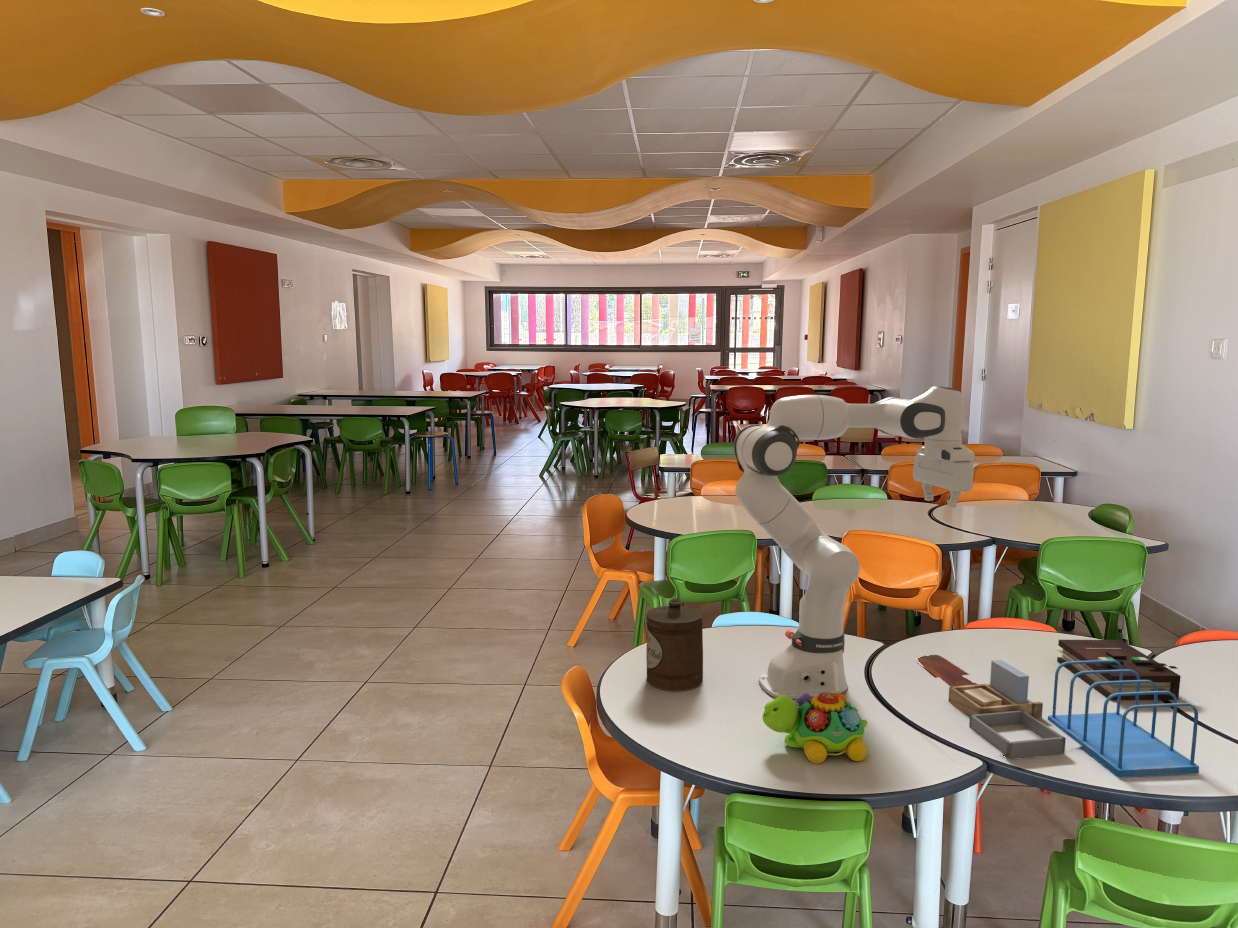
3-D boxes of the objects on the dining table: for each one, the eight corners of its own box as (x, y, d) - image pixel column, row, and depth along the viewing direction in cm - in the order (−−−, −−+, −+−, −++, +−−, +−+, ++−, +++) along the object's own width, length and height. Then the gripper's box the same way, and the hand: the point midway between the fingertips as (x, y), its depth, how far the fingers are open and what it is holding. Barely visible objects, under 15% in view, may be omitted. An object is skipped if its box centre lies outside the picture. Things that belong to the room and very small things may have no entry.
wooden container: (646, 668, 225) (646, 590, 222) (701, 669, 224) (701, 591, 221) (646, 691, 210) (646, 608, 207) (704, 692, 210) (705, 608, 207)
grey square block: (1016, 717, 193) (1018, 676, 191) (989, 699, 203) (991, 660, 201) (1026, 716, 193) (1028, 675, 192) (998, 698, 203) (1001, 659, 202)
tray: (1008, 759, 175) (1009, 743, 174) (969, 729, 188) (969, 714, 188) (1064, 753, 177) (1065, 737, 177) (1021, 724, 191) (1022, 709, 190)
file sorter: (1046, 722, 192) (1051, 659, 190) (1118, 720, 193) (1123, 657, 191) (1118, 778, 168) (1124, 706, 165) (1199, 774, 169) (1206, 703, 166)
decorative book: (1119, 633, 230) (1192, 676, 200) (1117, 659, 231) (1189, 705, 201) (1050, 633, 230) (1112, 676, 201) (1048, 659, 231) (1110, 705, 202)
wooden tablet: (994, 695, 208) (994, 689, 208) (956, 697, 207) (956, 691, 207) (942, 656, 235) (942, 650, 234) (908, 657, 233) (908, 652, 233)
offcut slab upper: (983, 710, 192) (984, 702, 192) (963, 698, 199) (963, 690, 198) (1001, 707, 193) (1001, 699, 193) (980, 695, 200) (980, 687, 200)
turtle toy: (753, 730, 189) (754, 681, 187) (852, 726, 190) (854, 678, 189) (772, 768, 172) (773, 714, 170) (881, 763, 174) (883, 710, 172)
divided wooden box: (979, 726, 190) (980, 708, 189) (948, 703, 202) (949, 686, 201) (1041, 720, 193) (1042, 703, 192) (1007, 698, 205) (1008, 681, 204)
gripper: (908, 445, 219) (905, 497, 221) (956, 455, 200) (953, 511, 202) (928, 445, 221) (926, 496, 223) (979, 454, 201) (976, 510, 203)
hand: (939, 503), depth 212 cm, fingers open, 8 cm apart
